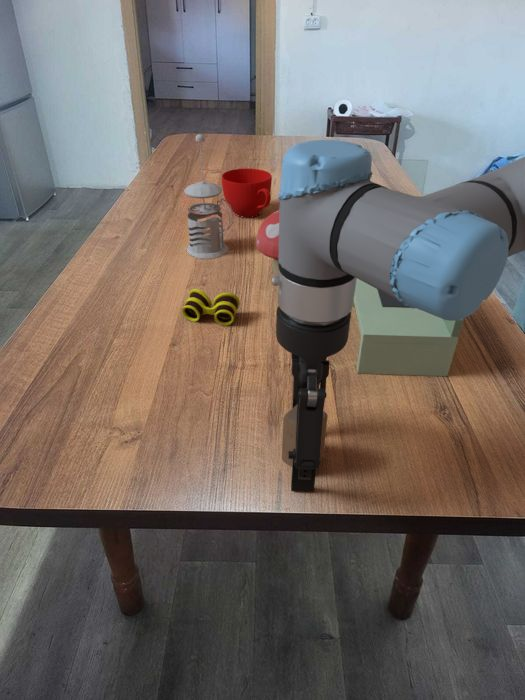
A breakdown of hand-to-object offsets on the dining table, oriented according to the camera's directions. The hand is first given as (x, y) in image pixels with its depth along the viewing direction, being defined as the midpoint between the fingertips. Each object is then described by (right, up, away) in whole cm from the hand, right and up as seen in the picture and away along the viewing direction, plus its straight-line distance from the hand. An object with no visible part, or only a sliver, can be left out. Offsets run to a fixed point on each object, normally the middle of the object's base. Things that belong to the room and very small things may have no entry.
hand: (301, 458), depth 63 cm
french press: (-17, +37, +51) cm, 65 cm away
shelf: (+17, +16, +23) cm, 33 cm away
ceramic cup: (-8, +50, +68) cm, 85 cm away
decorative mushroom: (0, +28, +39) cm, 48 cm away
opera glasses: (-14, +20, +27) cm, 37 cm away
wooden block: (0, 0, 0) cm, 1 cm away
